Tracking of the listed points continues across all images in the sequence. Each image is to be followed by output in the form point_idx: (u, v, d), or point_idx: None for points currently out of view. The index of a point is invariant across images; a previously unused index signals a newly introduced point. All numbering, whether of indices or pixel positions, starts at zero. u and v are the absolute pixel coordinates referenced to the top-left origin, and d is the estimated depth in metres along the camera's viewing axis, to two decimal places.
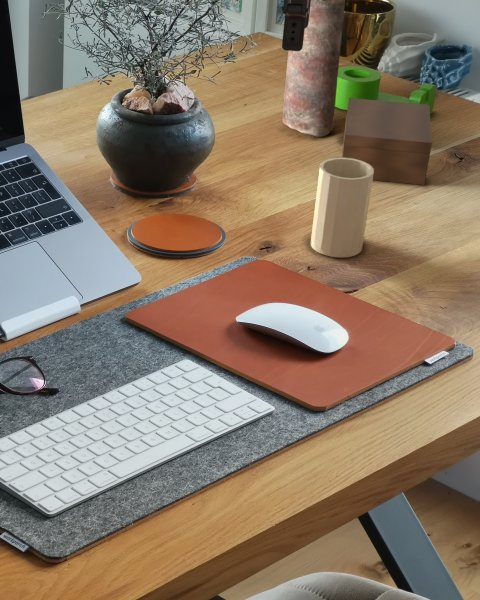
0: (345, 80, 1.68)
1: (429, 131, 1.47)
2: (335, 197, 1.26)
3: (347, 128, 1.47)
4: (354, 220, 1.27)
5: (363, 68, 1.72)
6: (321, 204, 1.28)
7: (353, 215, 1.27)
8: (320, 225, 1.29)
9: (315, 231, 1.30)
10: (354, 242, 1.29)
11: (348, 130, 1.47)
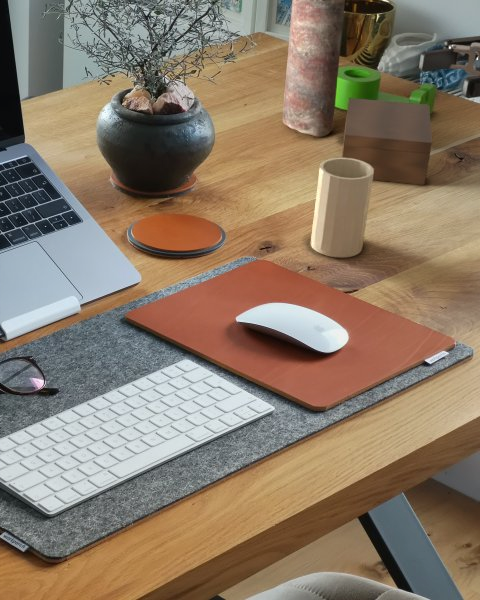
0: (345, 80, 1.68)
1: (429, 131, 1.47)
2: (335, 197, 1.26)
3: (347, 128, 1.47)
4: (354, 220, 1.27)
5: (364, 68, 1.72)
6: (321, 204, 1.28)
7: (353, 215, 1.27)
8: (320, 225, 1.29)
9: (315, 231, 1.30)
10: (354, 242, 1.29)
11: (348, 130, 1.47)
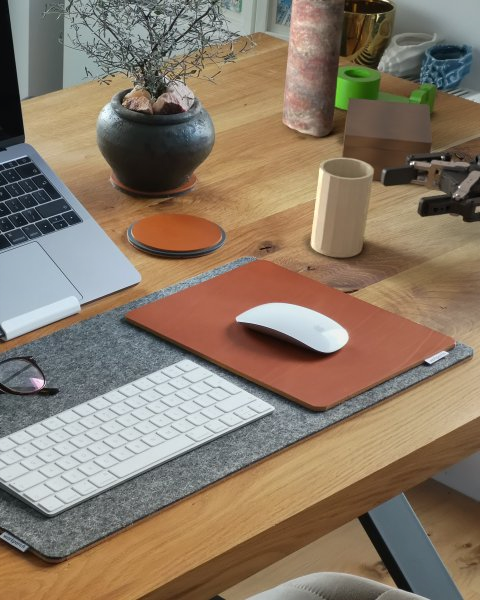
0: (345, 80, 1.68)
1: (429, 131, 1.47)
2: (335, 197, 1.26)
3: (347, 128, 1.47)
4: (354, 220, 1.27)
5: (364, 68, 1.72)
6: (321, 204, 1.28)
7: (353, 215, 1.27)
8: (320, 225, 1.29)
9: (315, 231, 1.30)
10: (354, 242, 1.29)
11: (348, 130, 1.47)
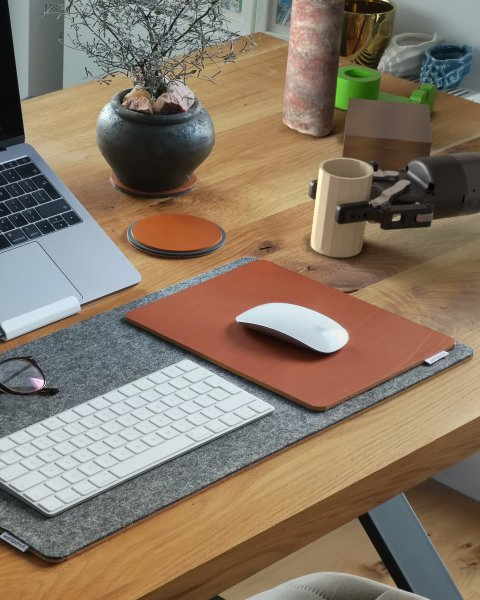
0: (345, 80, 1.68)
1: (429, 131, 1.47)
2: (334, 197, 1.26)
3: (347, 128, 1.47)
4: None
5: (364, 68, 1.72)
6: (321, 204, 1.28)
7: None
8: (320, 225, 1.29)
9: (315, 231, 1.30)
10: (353, 242, 1.29)
11: (348, 130, 1.47)
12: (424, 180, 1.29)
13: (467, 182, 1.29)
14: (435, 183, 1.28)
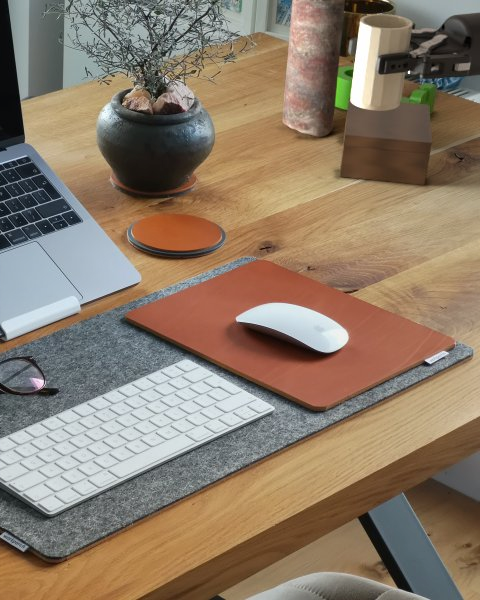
0: (345, 80, 1.68)
1: (429, 131, 1.47)
2: (375, 48, 1.30)
3: (347, 128, 1.47)
4: None
5: None
6: (361, 57, 1.32)
7: None
8: (360, 79, 1.33)
9: (355, 86, 1.34)
10: (393, 95, 1.33)
11: (348, 130, 1.47)
12: (461, 34, 1.33)
13: None
14: (472, 36, 1.32)
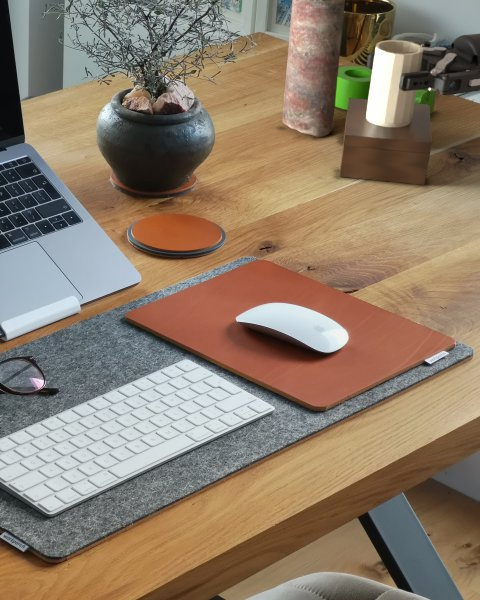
0: (346, 80, 1.68)
1: (429, 131, 1.47)
2: (389, 71, 1.44)
3: (347, 128, 1.47)
4: (406, 92, 1.46)
5: (364, 68, 1.72)
6: (377, 79, 1.46)
7: None
8: (375, 98, 1.47)
9: (370, 105, 1.48)
10: (405, 113, 1.47)
11: (348, 130, 1.47)
12: (469, 53, 1.47)
13: None
14: (479, 55, 1.46)
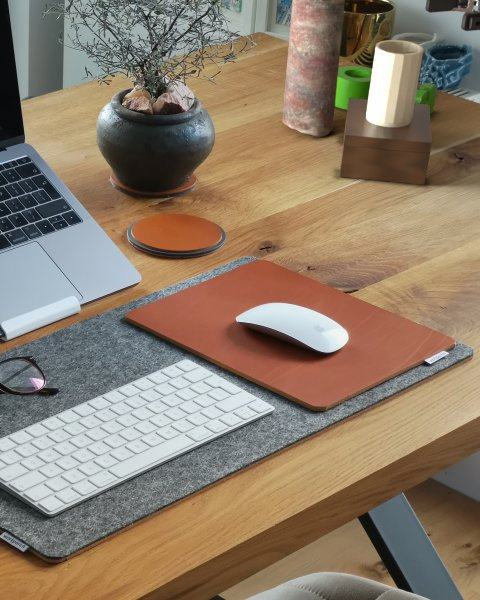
0: (346, 80, 1.68)
1: (429, 131, 1.47)
2: (389, 71, 1.44)
3: (347, 128, 1.47)
4: (406, 92, 1.46)
5: (364, 68, 1.72)
6: (377, 79, 1.46)
7: (405, 88, 1.45)
8: (375, 98, 1.47)
9: (370, 105, 1.48)
10: (405, 113, 1.47)
11: (348, 130, 1.47)
12: None
13: None
14: None
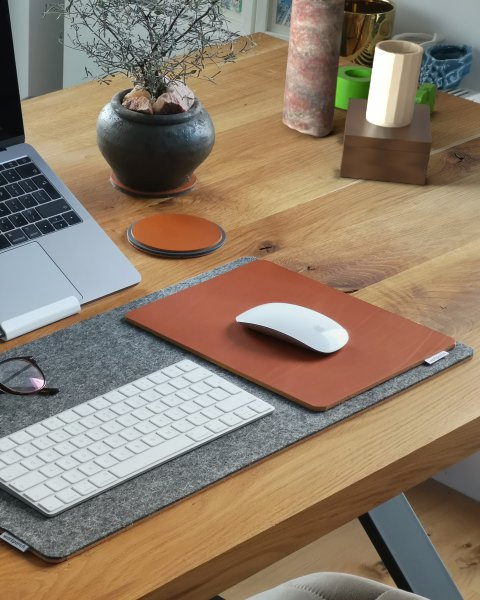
0: (346, 80, 1.68)
1: (429, 131, 1.47)
2: (389, 71, 1.44)
3: (347, 128, 1.47)
4: (406, 92, 1.46)
5: (364, 68, 1.72)
6: (377, 79, 1.46)
7: (405, 88, 1.45)
8: (375, 98, 1.47)
9: (370, 105, 1.48)
10: (405, 113, 1.47)
11: (348, 130, 1.47)
12: None
13: None
14: None
